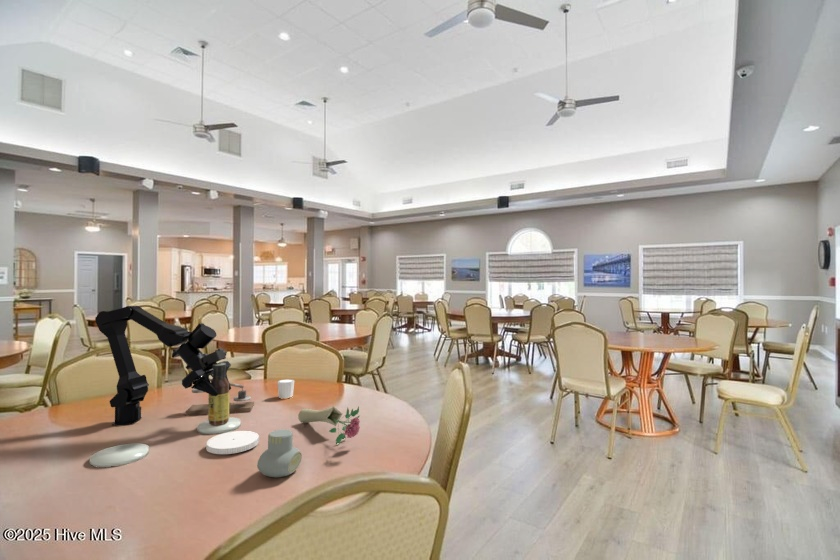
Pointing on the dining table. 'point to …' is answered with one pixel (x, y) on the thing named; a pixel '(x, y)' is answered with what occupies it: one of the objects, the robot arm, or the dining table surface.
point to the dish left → (119, 455)
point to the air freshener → (279, 455)
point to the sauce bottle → (219, 396)
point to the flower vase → (332, 420)
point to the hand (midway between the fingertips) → (223, 392)
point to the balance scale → (232, 406)
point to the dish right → (219, 426)
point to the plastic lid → (232, 442)
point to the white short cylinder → (285, 388)
